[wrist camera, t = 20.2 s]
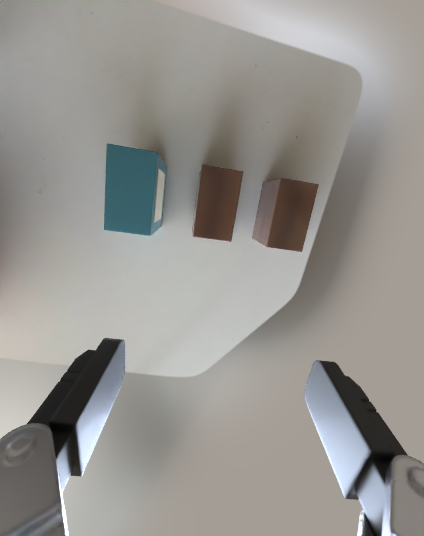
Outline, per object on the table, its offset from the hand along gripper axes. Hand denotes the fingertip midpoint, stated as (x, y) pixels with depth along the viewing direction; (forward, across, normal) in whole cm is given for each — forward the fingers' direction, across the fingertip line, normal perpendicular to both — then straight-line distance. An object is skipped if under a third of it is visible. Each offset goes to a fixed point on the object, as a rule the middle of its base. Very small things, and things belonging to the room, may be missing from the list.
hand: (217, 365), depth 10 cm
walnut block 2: (+28, -8, -3) cm, 29 cm away
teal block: (+26, +10, -4) cm, 28 cm away
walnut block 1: (+27, +1, -4) cm, 27 cm away
